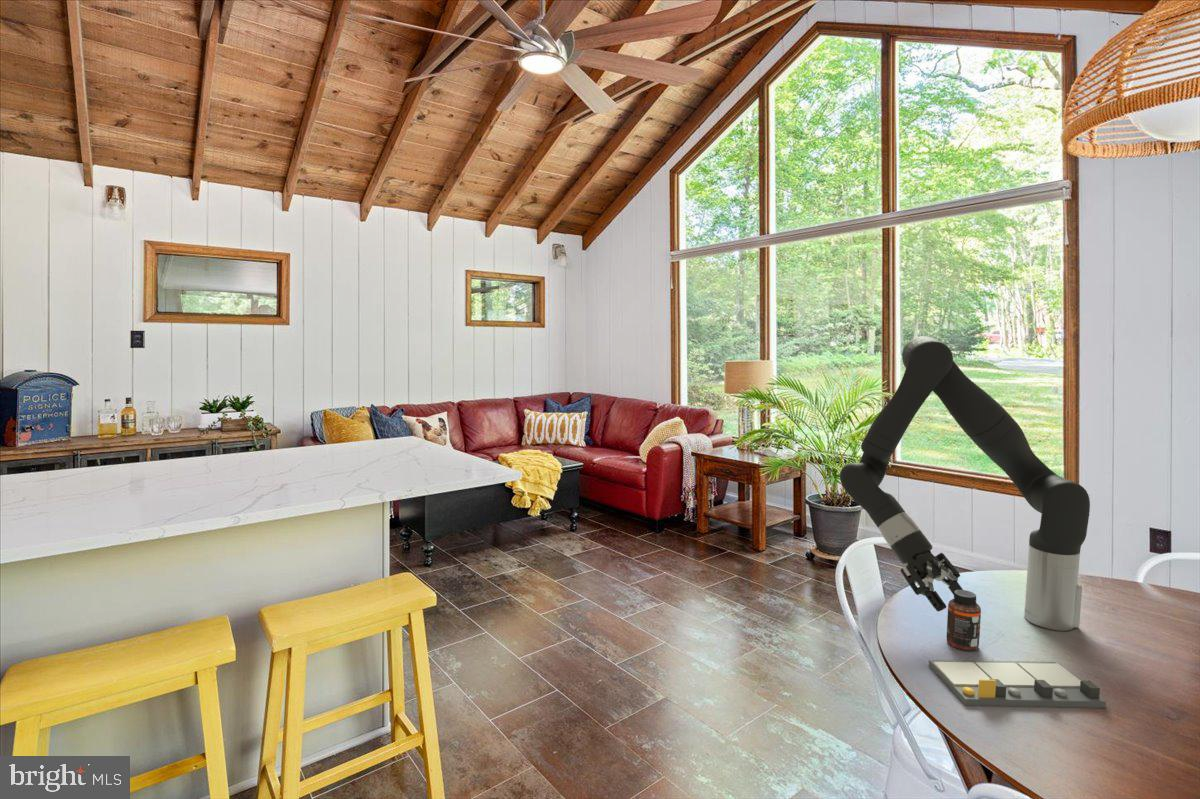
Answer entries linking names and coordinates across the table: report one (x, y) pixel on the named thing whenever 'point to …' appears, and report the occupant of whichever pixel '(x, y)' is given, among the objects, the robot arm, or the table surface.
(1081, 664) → the table surface
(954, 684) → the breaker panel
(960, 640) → the supplement bottle
